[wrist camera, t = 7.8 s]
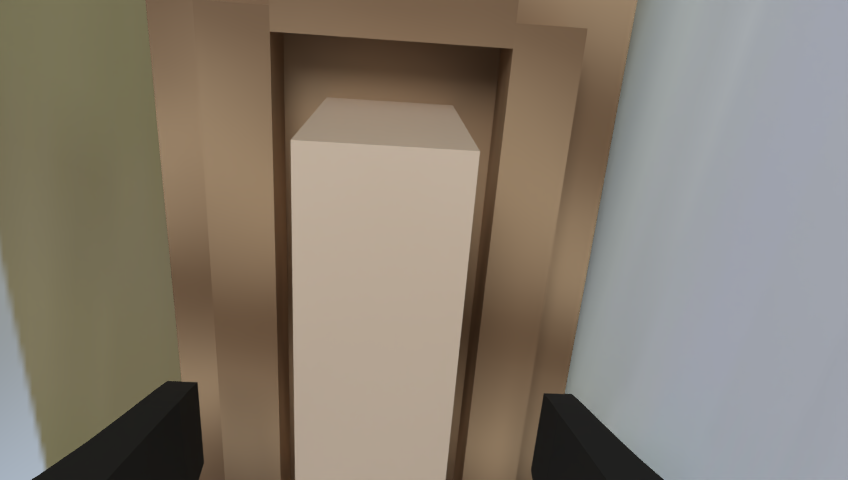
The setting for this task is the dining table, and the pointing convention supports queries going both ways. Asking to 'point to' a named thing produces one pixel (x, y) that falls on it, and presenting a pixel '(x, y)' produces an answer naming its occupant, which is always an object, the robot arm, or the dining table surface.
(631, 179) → the dining table surface
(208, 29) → the rack
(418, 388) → the clay bar
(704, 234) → the dining table surface
